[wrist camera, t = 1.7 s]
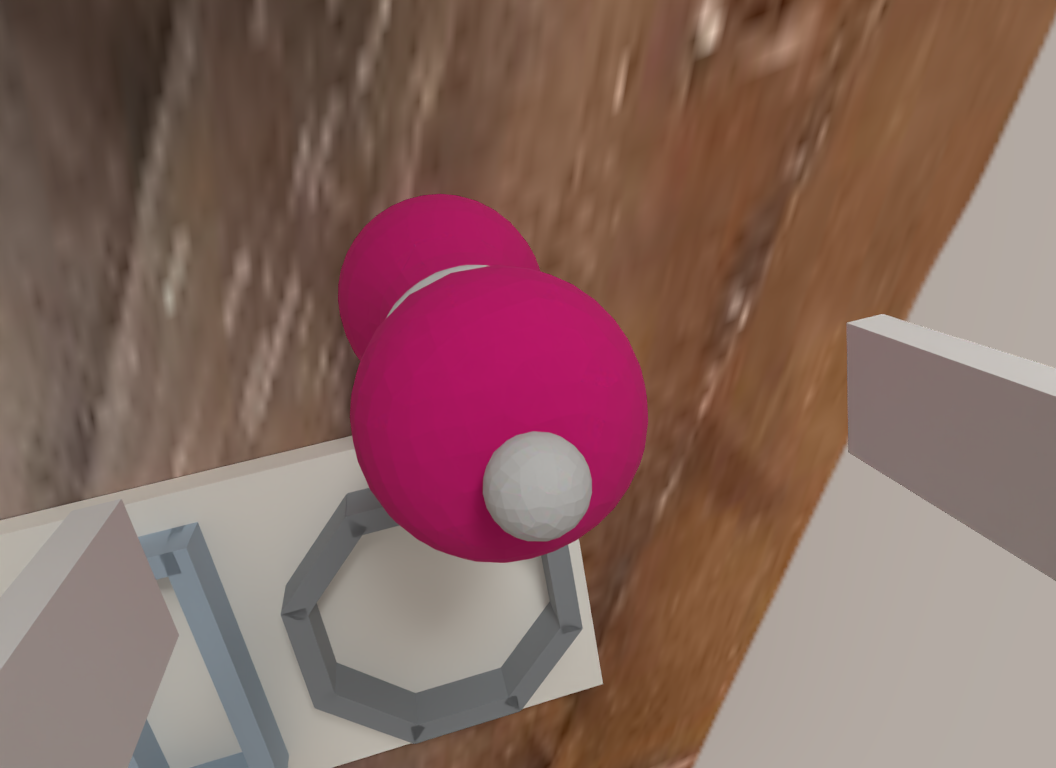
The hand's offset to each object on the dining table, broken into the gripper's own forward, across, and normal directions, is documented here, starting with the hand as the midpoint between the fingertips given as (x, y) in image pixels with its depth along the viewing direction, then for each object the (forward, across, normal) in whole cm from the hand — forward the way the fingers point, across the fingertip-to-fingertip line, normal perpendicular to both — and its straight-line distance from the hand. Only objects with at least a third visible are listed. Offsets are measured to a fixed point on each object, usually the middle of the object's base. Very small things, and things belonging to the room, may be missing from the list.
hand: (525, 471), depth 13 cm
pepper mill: (+18, 0, 0) cm, 18 cm away
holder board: (+18, -8, -14) cm, 24 cm away
